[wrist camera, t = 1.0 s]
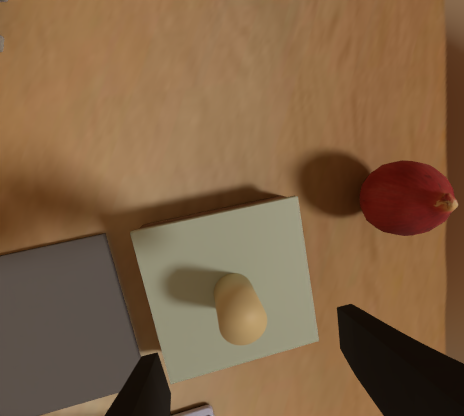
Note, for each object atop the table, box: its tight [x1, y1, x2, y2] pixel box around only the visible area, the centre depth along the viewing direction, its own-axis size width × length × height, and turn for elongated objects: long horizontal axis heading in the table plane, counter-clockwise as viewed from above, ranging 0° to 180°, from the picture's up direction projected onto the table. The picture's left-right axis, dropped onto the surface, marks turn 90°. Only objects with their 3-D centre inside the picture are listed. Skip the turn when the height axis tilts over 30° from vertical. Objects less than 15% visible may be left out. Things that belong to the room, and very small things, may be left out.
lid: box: [130, 196, 319, 384], centre depth 18 cm, size 12×12×5 cm
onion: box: [360, 161, 458, 236], centre depth 19 cm, size 6×6×8 cm
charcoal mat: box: [0, 233, 141, 416], centre depth 20 cm, size 14×14×1 cm
